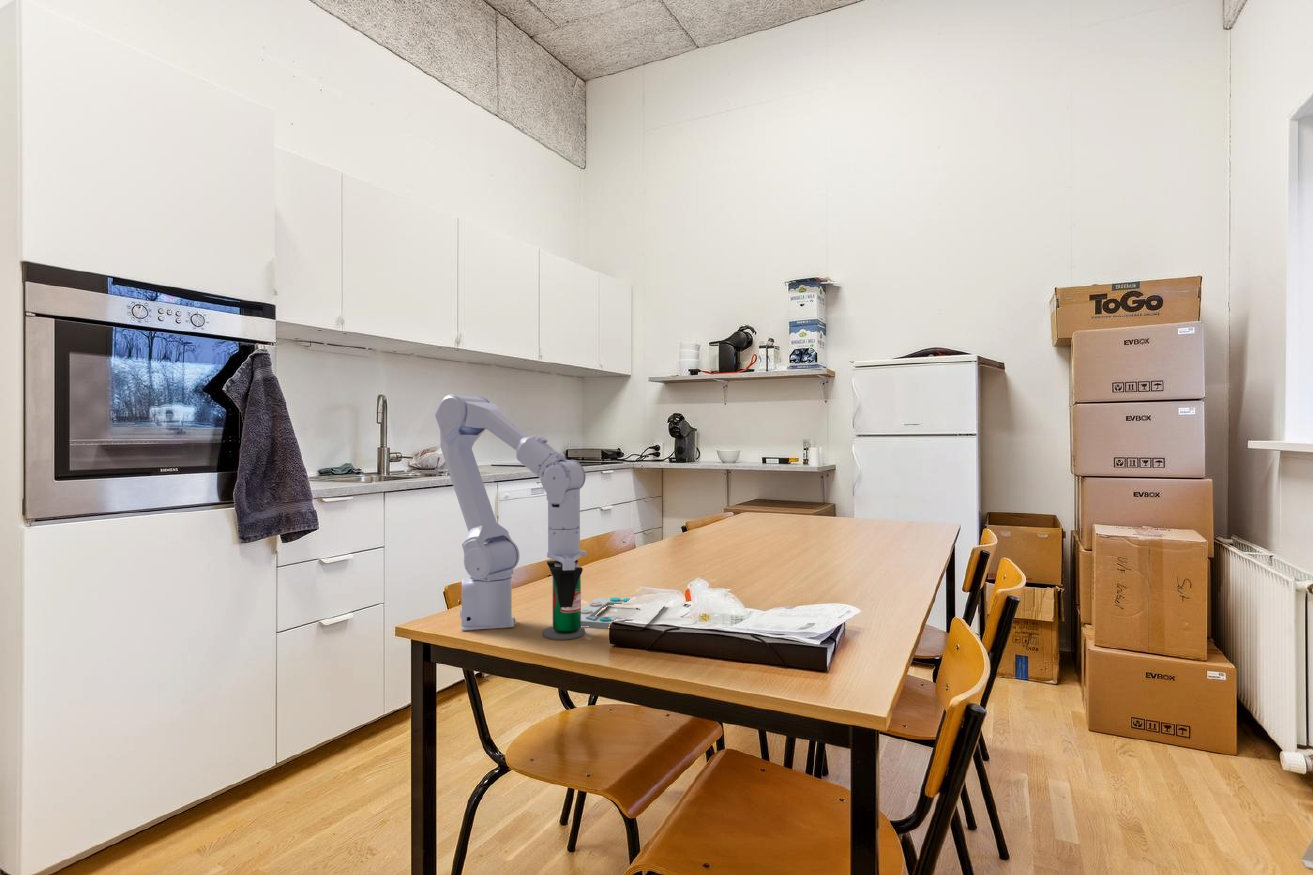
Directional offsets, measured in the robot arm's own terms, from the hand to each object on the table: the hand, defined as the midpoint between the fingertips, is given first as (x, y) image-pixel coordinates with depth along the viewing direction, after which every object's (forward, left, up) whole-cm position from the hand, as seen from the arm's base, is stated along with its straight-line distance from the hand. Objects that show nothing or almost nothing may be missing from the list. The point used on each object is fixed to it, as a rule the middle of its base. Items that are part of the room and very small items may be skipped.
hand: (564, 603), depth 124 cm
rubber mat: (0, 0, -6) cm, 6 cm away
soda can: (0, 0, -5) cm, 5 cm away
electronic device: (+12, +10, -7) cm, 17 cm away
